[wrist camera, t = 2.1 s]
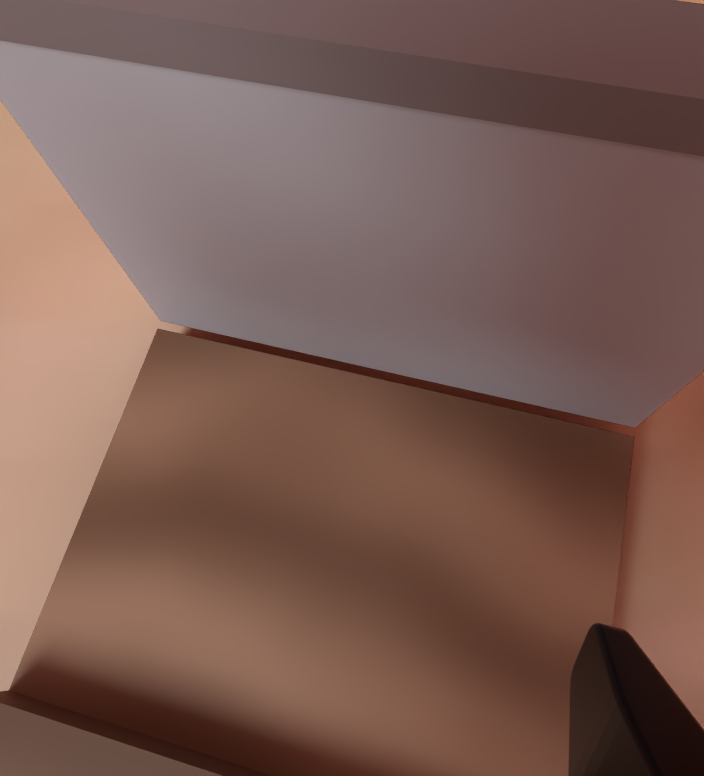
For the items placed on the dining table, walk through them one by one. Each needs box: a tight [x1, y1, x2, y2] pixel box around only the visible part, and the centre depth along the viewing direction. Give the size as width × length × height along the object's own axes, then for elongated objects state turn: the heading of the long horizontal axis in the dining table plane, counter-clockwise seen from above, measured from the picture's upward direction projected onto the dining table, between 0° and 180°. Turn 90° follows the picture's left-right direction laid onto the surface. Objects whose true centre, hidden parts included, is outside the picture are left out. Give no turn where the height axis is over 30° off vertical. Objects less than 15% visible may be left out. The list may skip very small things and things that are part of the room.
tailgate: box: [0, 0, 704, 428], centre depth 15 cm, size 2×16×12 cm, turn 75°
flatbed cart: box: [0, 329, 634, 776], centre depth 19 cm, size 13×16×3 cm
